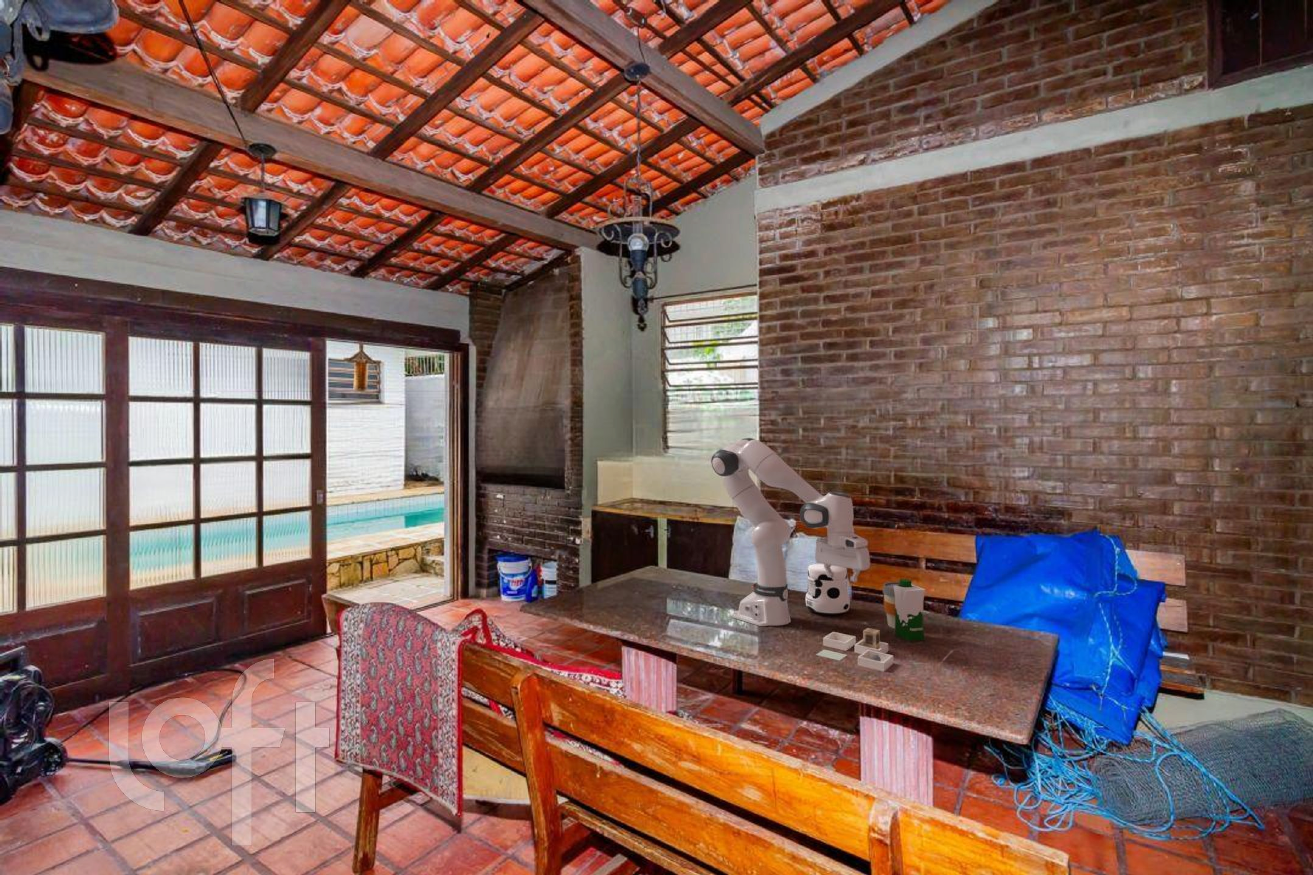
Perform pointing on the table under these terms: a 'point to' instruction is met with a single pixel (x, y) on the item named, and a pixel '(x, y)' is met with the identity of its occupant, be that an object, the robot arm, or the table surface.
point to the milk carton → (909, 611)
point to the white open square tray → (839, 641)
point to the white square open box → (877, 665)
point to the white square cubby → (861, 649)
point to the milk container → (827, 590)
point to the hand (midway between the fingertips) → (842, 579)
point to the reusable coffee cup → (890, 602)
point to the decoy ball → (875, 657)
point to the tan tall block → (871, 638)
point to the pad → (831, 655)
